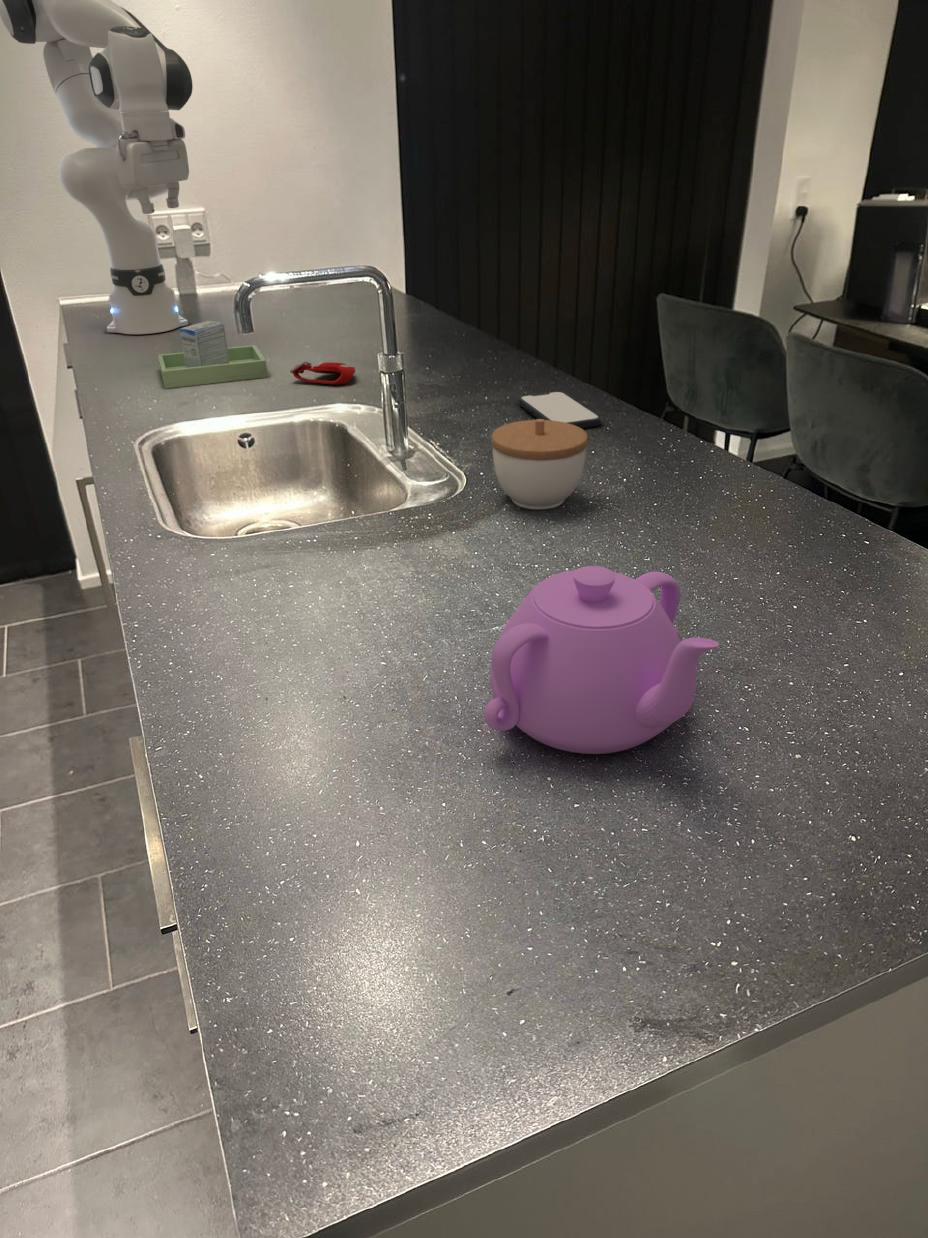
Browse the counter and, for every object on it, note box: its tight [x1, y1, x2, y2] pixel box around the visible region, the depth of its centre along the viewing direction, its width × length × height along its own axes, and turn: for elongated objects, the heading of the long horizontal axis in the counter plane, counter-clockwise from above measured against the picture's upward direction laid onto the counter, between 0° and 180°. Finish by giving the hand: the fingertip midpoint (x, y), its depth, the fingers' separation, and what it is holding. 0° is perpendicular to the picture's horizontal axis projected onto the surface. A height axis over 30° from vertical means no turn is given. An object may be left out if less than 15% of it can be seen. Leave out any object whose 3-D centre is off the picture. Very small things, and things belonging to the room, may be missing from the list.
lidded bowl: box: [491, 418, 589, 510], centre depth 120 cm, size 13×13×11 cm
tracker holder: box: [289, 360, 356, 386], centre depth 174 cm, size 12×4×10 cm
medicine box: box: [179, 320, 229, 368], centre depth 179 cm, size 8×4×9 cm, turn 149°
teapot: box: [483, 565, 720, 755], centre depth 76 cm, size 22×22×14 cm
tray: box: [157, 344, 269, 389], centre depth 180 cm, size 14×20×3 cm
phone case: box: [518, 391, 601, 430], centre depth 153 cm, size 9×2×16 cm
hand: (161, 210), depth 175 cm, fingers open, 8 cm apart
